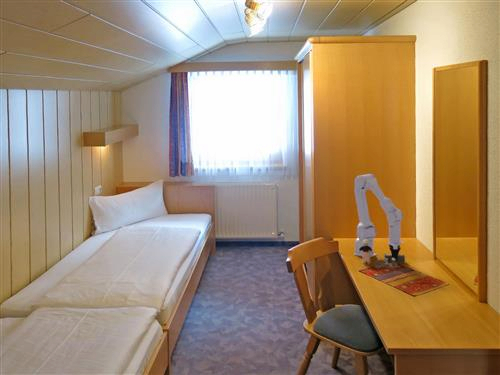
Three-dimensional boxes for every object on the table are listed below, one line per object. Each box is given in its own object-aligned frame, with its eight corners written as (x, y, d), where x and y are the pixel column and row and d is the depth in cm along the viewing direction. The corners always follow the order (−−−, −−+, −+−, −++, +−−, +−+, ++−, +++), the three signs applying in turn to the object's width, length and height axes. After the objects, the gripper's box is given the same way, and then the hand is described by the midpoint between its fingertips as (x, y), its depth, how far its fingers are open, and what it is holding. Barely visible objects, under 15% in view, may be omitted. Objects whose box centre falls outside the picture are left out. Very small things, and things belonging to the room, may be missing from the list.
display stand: (375, 267, 265) (375, 260, 264) (374, 264, 271) (374, 256, 270) (398, 268, 263) (398, 260, 262) (397, 264, 269) (397, 257, 268)
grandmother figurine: (372, 261, 275) (372, 238, 273) (373, 264, 271) (373, 239, 270) (357, 261, 276) (357, 238, 274) (358, 264, 272) (358, 240, 270)
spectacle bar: (384, 263, 273) (384, 255, 272) (384, 261, 276) (384, 253, 275) (404, 263, 271) (404, 255, 270) (404, 262, 274) (404, 254, 273)
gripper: (403, 237, 263) (403, 263, 265) (401, 230, 277) (401, 255, 279) (389, 236, 264) (389, 263, 267) (387, 230, 279) (387, 255, 281)
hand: (394, 259), depth 273 cm, fingers open, 3 cm apart
